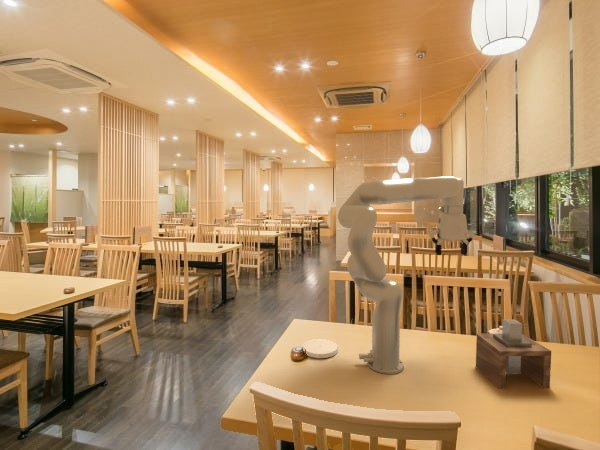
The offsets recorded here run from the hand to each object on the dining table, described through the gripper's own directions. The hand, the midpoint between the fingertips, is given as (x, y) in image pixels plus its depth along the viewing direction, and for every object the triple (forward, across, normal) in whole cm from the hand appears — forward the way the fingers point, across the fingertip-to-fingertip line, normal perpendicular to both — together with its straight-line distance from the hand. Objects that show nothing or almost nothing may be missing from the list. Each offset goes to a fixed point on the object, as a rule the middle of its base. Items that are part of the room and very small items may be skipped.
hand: (451, 254), depth 130 cm
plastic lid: (+39, -51, 0) cm, 64 cm away
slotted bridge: (+38, +12, -20) cm, 45 cm away
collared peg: (+36, +12, -20) cm, 43 cm away
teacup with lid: (+38, +18, -4) cm, 43 cm away
